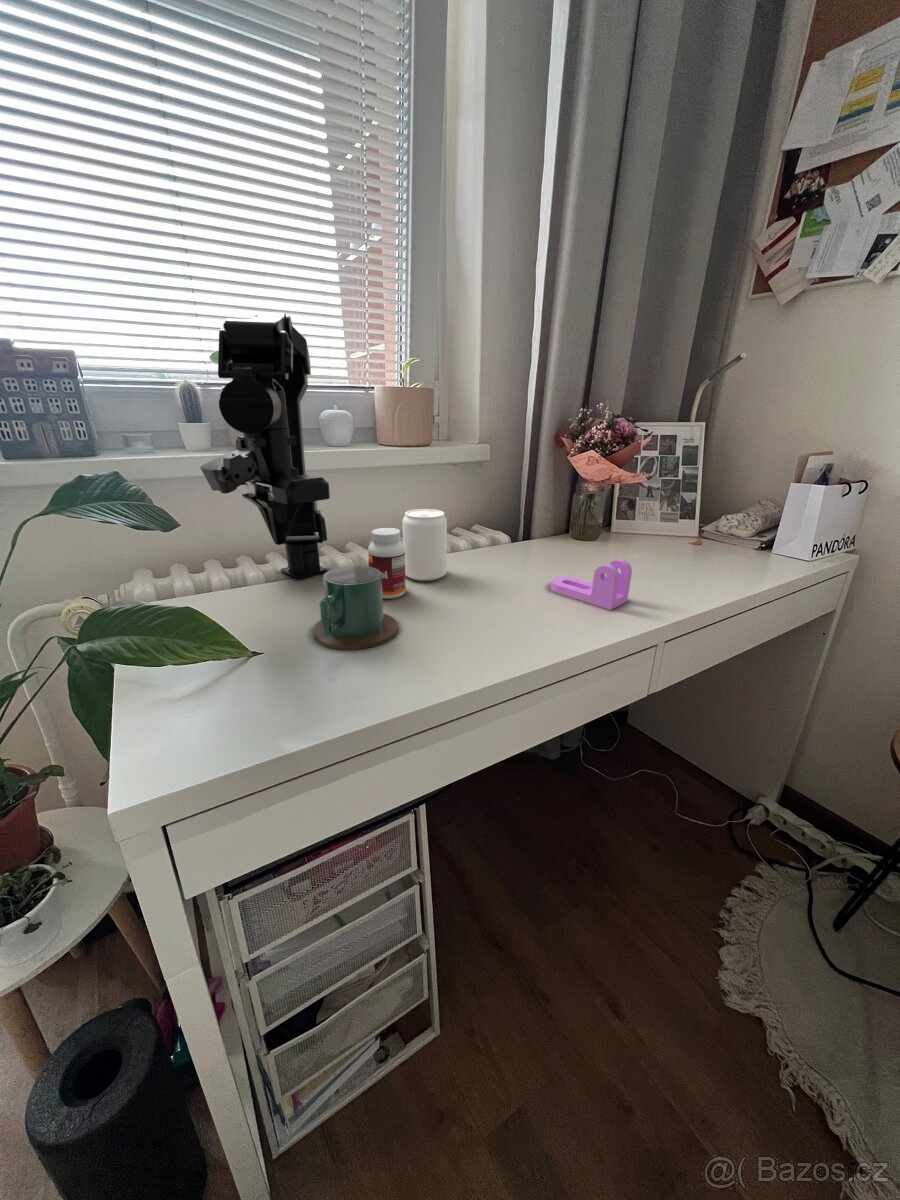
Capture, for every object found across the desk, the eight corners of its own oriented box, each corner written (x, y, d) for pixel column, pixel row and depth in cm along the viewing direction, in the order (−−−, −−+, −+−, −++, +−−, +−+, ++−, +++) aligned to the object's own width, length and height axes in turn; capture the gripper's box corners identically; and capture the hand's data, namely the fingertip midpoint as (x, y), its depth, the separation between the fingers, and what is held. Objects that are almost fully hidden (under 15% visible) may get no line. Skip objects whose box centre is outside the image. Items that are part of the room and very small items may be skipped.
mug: (346, 612, 78) (342, 562, 75) (393, 620, 75) (391, 569, 72) (300, 645, 67) (293, 589, 64) (352, 655, 65) (348, 598, 62)
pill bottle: (362, 593, 87) (358, 531, 83) (388, 584, 91) (386, 524, 87) (387, 602, 83) (384, 537, 79) (413, 592, 87) (412, 530, 83)
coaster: (297, 630, 73) (297, 627, 73) (363, 607, 81) (363, 604, 81) (347, 658, 65) (347, 654, 65) (414, 629, 74) (414, 626, 73)
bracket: (627, 601, 85) (633, 561, 82) (610, 610, 81) (616, 569, 79) (562, 581, 94) (566, 545, 91) (544, 588, 90) (547, 551, 87)
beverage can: (448, 569, 99) (449, 509, 95) (443, 583, 92) (444, 518, 87) (407, 567, 100) (406, 507, 95) (400, 581, 93) (398, 517, 88)
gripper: (172, 427, 66) (194, 542, 72) (240, 435, 54) (259, 572, 60) (252, 424, 74) (266, 529, 79) (327, 431, 62) (336, 553, 68)
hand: (279, 544), depth 72 cm, fingers closed
